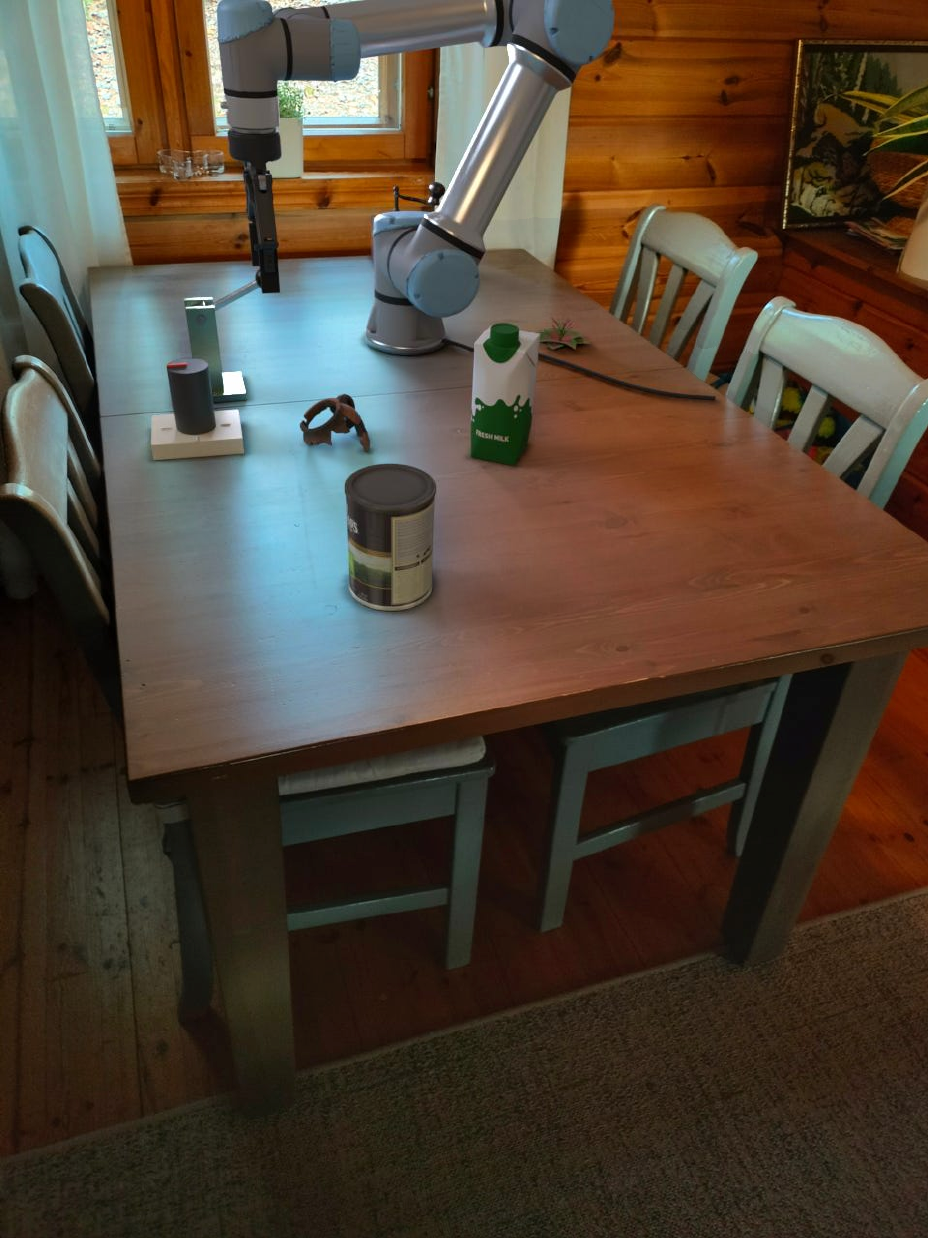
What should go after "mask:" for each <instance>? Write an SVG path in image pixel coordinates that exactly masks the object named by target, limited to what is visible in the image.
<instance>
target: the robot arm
mask: <svg viewBox="0 0 928 1238" xmlns="http://www.w3.org/2000/svg"><path fill="white" fill-rule="evenodd" d="M216 22H217V23H216V24H217V37H216V39H217V42H218V51H219V61H220V68H221V69H220V70H221V78H222V89H223V94H224V95H223V96H224V100H225V101H220V105H219V106H220V109H221V110H226V111H225V117H226V124H227V125H228V126H229V127H230V128H229V129H228V131H227V132H226V133H227V142H228V143H227V144H228V153H229V156H230V158H231V159H233V160H234V161H237V162H243V163H244V170H242V178H243V179H242V180H243V183H244V190H245V203H246V208H245V212H246V213H247V220H248V229H249V230H248V232H249V243H250V244H249V245H250V254H251V265H252V267H259V269H260V277H261V288H262V289H261V288H260V289H261V294H281V284H280V271H279V257H278V249H279V246H280V243H279V241H278V232H277V224H276V214H275V207H274V192H273V185H274V183H273V182H274V180H273V174H272V173H271V171H270V170H269V169H267V164H268V163H269V162H272V163H273V162H276V161H278V160H280V159H281V158H282V155H283V154H282V153H283V151H282V137H281V132H280V131H279V130H278V129H277V128H280V125H281V116H280V101H279V92H278V91H279V90H278V82H279V81H280V82H288V81H295V82H296V81H298V82H302V81H303V82H304V81H305V82H333V83H337V82H341V81H352V80H353V81H354V80H355V78H356V77H357V76H358V74H359V72H360V68H361V62H362V61H361V60H362V59H369V58H376V57H382V56H389V55H395V54H402V53H403V54H404V53H411V52H417V51H424V50H430V49H439V48H444V47H451V46H459V45H466V44H472V43H478V44H479V46H480V47H482V48H483V49H488V48H494V47H506V49H507V54H508V58H509V63H508V65H507V66H506V69H505V71H504V73H503V75H502V77H501V79H500V81H499V84H498V85H497V88H496V89H495V91H494V94H493V95H492V97H491V100H490V102H489V104H488V106H487V108H486V111H485V112H484V114H483V116H482V118H481V120H480V122H479V125H478V127H477V129H476V130H475V133H474V134H473V137H472V138H471V141H470V142H469V144H468V147H467V149H466V151H465V152H464V155H463V157H462V159H461V161H460V163H459V165H458V167H457V170H456V171H455V174H454V175H453V178H452V180H451V182H450V184H449V186H448V188H447V190H446V191H445V194H444V195H443V197H442V200H441V202H440V205H439V206H438V208H437V209H436V210H434V211H431V212H430V211H421V210H403V211H402V210H400V211H397V212H390V211H388V212H383V213H380V214H377V215H378V216H377V217H376V218H375V220H374V230H373V234H372V236H373V246H374V261H373V285H374V287H373V290H374V293H373V295H374V298H373V304H372V306H371V310H370V312H369V316H368V320H367V323H366V327H365V330H364V331H365V332H364V333H365V343H366V344H367V345H368V346H369V347H370V348H372V349H374V350H376V351H379V352H382V353H385V354H391V355H397V356H398V355H399V356H417V355H424V354H430V353H433V352H437V351H438V350H440V349H441V348H442V347H444V345H445V344H446V345H451V346H453V347H457V348H460V349H463V350H466V351H468V352H470V353H474V347H471V346H468V345H466V344H463V343H461V342H457V341H454V340H451V339H448V338H446V333H447V332H446V329H445V325H444V321H443V319H444V318H445V319H446V318H450V317H453V316H456V315H458V314H460V313H462V312H464V311H465V310H466V309H467V308H468V307H469V306H471V304H472V303H473V302H474V300H475V299H476V296H477V294H478V292H479V289H480V284H481V277H480V271H479V270H480V269H479V265H480V263H481V261H482V259H483V257H484V255H485V253H486V252H487V251H486V245H485V241H484V235H485V233H486V231H487V229H488V228H489V226H490V223H491V221H492V220H493V217H495V214H496V212H497V210H498V208H499V206H500V204H501V202H502V200H503V198H504V196H505V194H506V192H507V190H508V188H509V187H510V184H511V183H512V181H513V179H514V177H515V175H516V174H517V171H518V169H519V167H520V166H521V163H522V161H523V159H524V158H525V156H526V154H527V151H528V149H529V147H530V146H531V143H532V142H533V140H534V138H535V136H536V134H537V132H538V130H539V128H540V127H541V124H542V122H543V121H544V119H545V117H546V115H547V113H548V111H549V110H550V107H551V105H552V103H553V101H554V99H555V98H556V95H557V94H558V93H559V92H561V91H565V90H567V89H570V88H572V86H573V84H574V82H575V80H576V78H577V76H578V74H579V72H580V70H582V67H583V66H586V65H589V64H591V63H592V62H595V61H596V60H597V59H598V58H599V57H601V56H602V55H603V53H604V52H605V50H607V49H606V48H607V47H608V45H609V43H610V41H611V38H612V34H613V30H614V27H615V26H614V25H615V11H614V5H613V0H354V1H345V2H338V3H330V4H324V5H319V6H309V7H302V8H295V7H293V6H285V7H281V8H277V9H275V10H274V11H273V7H272V4H271V3H270V1H268V0H220V1H219V2H218V4H217V5H216ZM538 358H540V359H544V360H547V361H550V362H553V363H556V364H560V365H563V366H565V367H569V368H571V369H574V370H576V371H579V372H582V373H584V374H587V375H589V376H593V377H595V378H598V379H601V380H604V381H607V382H610V383H613V384H616V385H618V386H622V387H625V388H629V389H633V390H637V391H640V392H645V393H649V394H654V395H659V396H664V397H670V398H678V399H685V400H686V399H687V400H698V401H699V400H700V401H713V402H714V401H715V402H716V400H717V399H716V398H717V396H716V395H705V394H704V395H703V394H691V393H681V392H672V391H666V390H660V389H654V388H650V387H646V386H641V385H638V384H634V383H630V382H627V381H623V380H619V379H616V378H615V377H611V376H608V375H605V374H603V373H600V372H597V371H594V370H591V369H589V368H585V367H583V366H580V365H577V364H575V363H572V362H569V361H567V360H563V359H560V358H557V357H555V356H550V355H548V354H544V353H541V352H538Z"/></svg>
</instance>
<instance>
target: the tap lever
mask: <svg viewBox="0 0 928 1238" xmlns="http://www.w3.org/2000/svg"><path fill="white" fill-rule="evenodd" d="M254 279H255V280H253V281H251V282H249V283H247V284H245V285H243V286H242V287H240V288H238V289H236V290H234V291H232V292H230V293H228V294H226V295H225V296H223V297H221V298H218V299H217V300H215V301H213V303H211V304H210V305H208V306H214V308H215V312H216V311H218V310H221V309H222V308H224V307H225V306H228V305H230V304H231V303H233V302H235V301H238V300H240V299H241V298H243V297H244V296H246V295H249V294H250V293H252V292H254V291H256V290H257V289H261V290H262V288H261V277H260V268H258V270H257V271H256V272H255V277H254ZM196 306H206V304H205V303H204V301H203V302H201V303H199V304H197V305H196ZM196 306H194V307H196Z"/></svg>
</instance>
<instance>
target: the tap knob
mask: <svg viewBox="0 0 928 1238" xmlns="http://www.w3.org/2000/svg"><path fill="white" fill-rule="evenodd" d="M166 373H167V377H168V379H167V380H168V385H169V391H170V392H169V393H170V398H171V404H172V410H173V414H174V417H175V423H176V429H177V430H178V431H179V432H181V433H184V434H188V435H199V434H204V433H208V432H210V431H212V430H213V429H214V428H215V427H216V420H215V412H214V411H215V405H214V402H213V397H212V390H211V382H210V375H209V367H208V363H207V362H206V361H204V360H202V359H198V358H192V357H181V358H178V359H174V360H171V361H169V362H168V363H166Z"/></svg>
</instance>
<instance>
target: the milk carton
mask: <svg viewBox="0 0 928 1238" xmlns="http://www.w3.org/2000/svg"><path fill="white" fill-rule="evenodd" d="M539 341H540V334H539V333H535V332H533V331H526V330H520V328H519V327H518V325H515V324H511V323H508V322H507V323H506V322H505V323H504V322H501V323H495V324H491V325H490V326H489V327H488V328H487V329H485V330H484V331H483V332H482V333H481V335H479V337H478V338H477V339H476V341H475V342H474V344H473V345H474V347H473V348H474V352H473V356H474V357H473V371H472V372H473V373H472V390H471V391H472V392H471V409H470V410H471V412H470V458H473V459H479V460H482V461H483V460H484V461H487V462H493V463H498V464H502V465H503V464H504V465H508V466H513V467H515V465H516V464H517V463H518V461H519V459H520V458H521V457H522V455H523V454H524V452H525V450H526V449H527V447H528V444H529V439H530V433H531V429H532V423H533V414H534V406H535V405H534V404H535V403H534V402H535V394H536V385H537V374H538V364H539V357H538V353H539V349H540V342H539Z"/></svg>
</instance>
